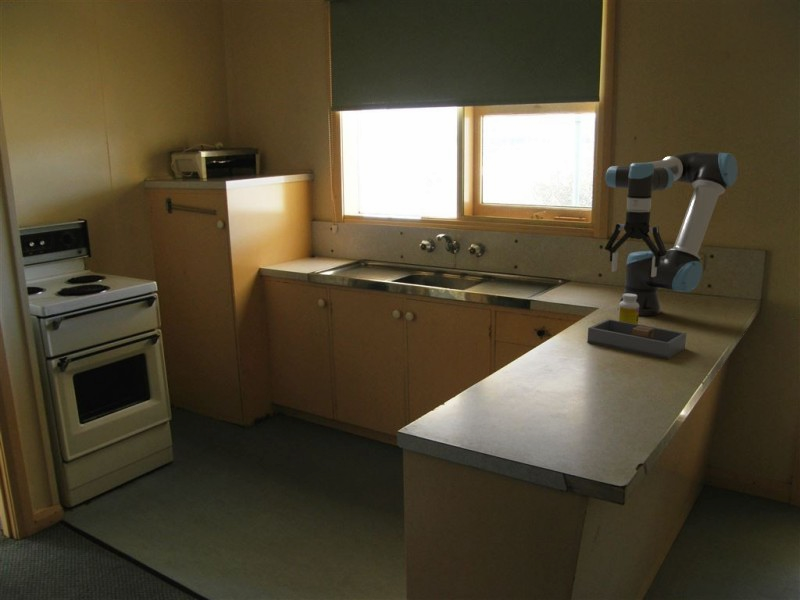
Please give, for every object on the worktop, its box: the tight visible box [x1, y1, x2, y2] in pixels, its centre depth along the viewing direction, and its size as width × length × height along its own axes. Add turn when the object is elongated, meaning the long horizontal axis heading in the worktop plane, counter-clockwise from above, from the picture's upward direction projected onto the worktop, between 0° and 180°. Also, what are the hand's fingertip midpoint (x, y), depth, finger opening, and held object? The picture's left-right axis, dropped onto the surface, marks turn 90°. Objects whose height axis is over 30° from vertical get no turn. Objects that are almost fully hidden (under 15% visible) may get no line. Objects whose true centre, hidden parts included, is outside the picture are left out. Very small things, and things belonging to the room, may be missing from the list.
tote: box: [586, 318, 687, 360], centre depth 223 cm, size 15×26×5 cm, turn 49°
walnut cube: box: [632, 326, 654, 339], centre depth 222 cm, size 5×5×5 cm
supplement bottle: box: [617, 293, 639, 324], centre depth 239 cm, size 7×7×13 cm
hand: (633, 273), depth 235 cm, fingers open, 13 cm apart
